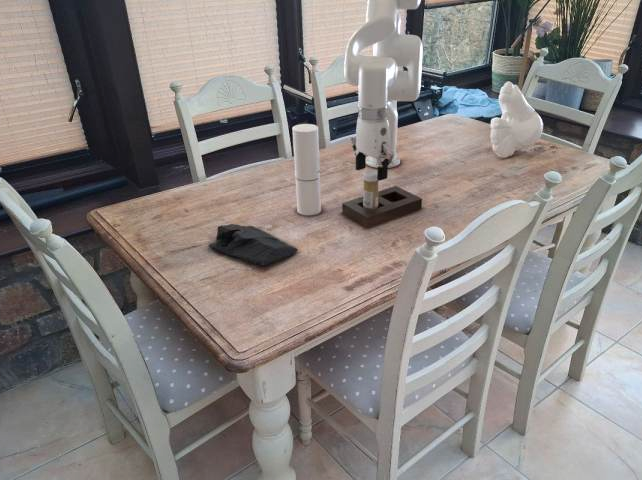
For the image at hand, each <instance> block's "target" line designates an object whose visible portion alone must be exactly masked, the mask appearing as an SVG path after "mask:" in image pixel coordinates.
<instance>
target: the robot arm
mask: <svg viewBox="0 0 642 480" xmlns="http://www.w3.org/2000/svg"><path fill="white" fill-rule="evenodd" d="M421 1H422V0H366V2H367V6H366V14H365V23H363V24H362V25H361V26H359V28H357V30H355V32H354V33H353V34H352V36H351V37H350V38H349V41H348V43H347V45H346V49H345V55H344V64H343V65H344V67H343V77H344V80H345V83H347V84H348V85H349V86H352V87H358V97H357V98H358V101H357V102H358V104H357V105H358V107H357V108H358V110H357V111H358V115H357V120H356V129H355V136H352V137H351V138H350V140H351V144H352V149H353V151H354V153H353V154H354V156H355V170H356V171H361V170H364V169H366V167H367V166H369V167H372V168H375V169H377V170H376V171H377V180H378V182H380V181H383V180H386V179H388V175H389V174H388V173H389V171H388V170H389V169H391V168H394V167H397V166H399V165H400V163H401V158H400V157H398V155H397V142H398V141H397V139H398V121H399V120H398V119H399V118H398V117H399V116H398V115H399V114H398V111H397V108H396V106H395V105H394V104H393V102H415V101H417V100H418V99H419V97H420V93H421V86H422V71H423V70H422V68H423V54H424V53H423V49H424V48H423V42H422V39H421V38H420V36H418V35H415V34H401V19H402V18H401V14H400V12H399V11H398V10H417V9H418V8H419V7H420V5H421ZM370 46H372V51H373V52H372V53H373V54H372V55H359V54H360V53H361V52H362V51H363V50H365V49H366V48H368V47H370ZM399 67H400V68H401V67H402V68H406V69H407V70H399ZM366 165H367V166H366Z"/></svg>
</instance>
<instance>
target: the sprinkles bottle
mask: <svg viewBox="0 0 642 480" xmlns="http://www.w3.org/2000/svg"><path fill="white" fill-rule="evenodd" d="M362 178H363V191H362V193H363V194H362V197H363V205H364V209H366V210H368V211H371V210H374V209H377V208H378V191H379V181H378V180H377V170H375V169H368V170H365V171H363V174H362Z"/></svg>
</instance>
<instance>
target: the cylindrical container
mask: <svg viewBox="0 0 642 480" xmlns="http://www.w3.org/2000/svg"><path fill="white" fill-rule="evenodd" d="M291 129H292V146H293V161H294V163H293V164H294V179H295V180H294V181H295V193H296V196H295V197H296V208H297V209H296V210H297V213H298V214H299V215H303V216H316V215H318V214H320V213H321V212H322V199H321V198H322V197H321V169H320V147H319V146H320V142H319V140H320V139H319V126H318V125H316V124H312V123H299V124H296V125H294V126H293V125H292V128H291Z"/></svg>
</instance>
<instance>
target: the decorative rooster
mask: <svg viewBox="0 0 642 480" xmlns="http://www.w3.org/2000/svg"><path fill="white" fill-rule="evenodd" d="M498 103H499V108H500V110H501V113H502V114H501V116H500V117H497V116H496V117H493V118H491V120H490V126H489V127H490V129H491V130H490V136H489V137H490V143H491V144H492V151H493V152H494V154H496V156H498V157H499V158H502V159H506V158H508V157H511V156H513V155H514V153H515V152H517V151H522V150H527V149H530V148H531V147H533V146H534V144H536V143H538V142H539V140H540V139H541V136H542V134H543V129H544V123H543V119H542V117H541V116H540V114H539V113H538V112H536V110H535V109H534V107H532V106H531V105H530V104H529V102H527V100H526V98H525V96H524V94H523V93H522V91H521V89H520V87H519V86H518V85H517V84H513V82H511V81H509V80H508V81H506V82H505V83H504V84H503V86H502V87H501V88H500V90H499V95H498Z"/></svg>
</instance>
